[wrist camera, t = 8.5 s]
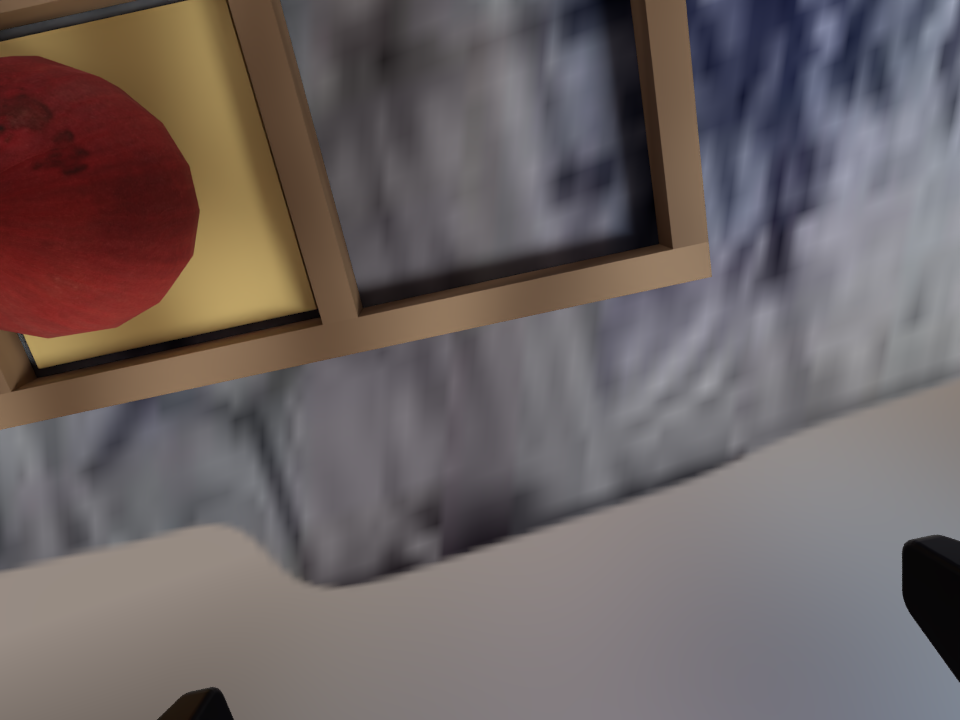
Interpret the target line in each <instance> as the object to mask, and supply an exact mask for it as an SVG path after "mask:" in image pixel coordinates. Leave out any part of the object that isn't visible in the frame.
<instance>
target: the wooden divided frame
mask: <svg viewBox="0 0 960 720" xmlns="http://www.w3.org/2000/svg"><path fill="white" fill-rule="evenodd" d="M131 1H136V0H0V30H5V29H9V28H14V27H18V26H23V25H28V24H32V23H37V22H41V21H46V20H50V19H55V18H59V17H64V16H68V15H73V14H77V13H82V12H86V11H91V10H95V9H100V8H104V7H109V6H113V5H118V4H122V3H127V2H131ZM228 2H229V3H228ZM630 2H631V10H632V19H633V27H634V36H635V44H636V52H637V61H638V69H639V78H640V86H641V95H642V103H643V111H644V120H645V128H646V137H647V145H648V154H649V162H650V170H651V179H652V187H653V196H654V204H655V213H656V221H657V229H658V238H659V244H657V245H652V246H648V247H643V248H639V249H634V250H629V251H625V252H620V253H615V254H611V255H606V256H601V257H597V258H592V259H588V260H583V261H578V262H574V263H569V264H564V265H560V266H555V267H550V268H546V269H541V270H537V271H532V272H527V273H523V274H518V275H513V276H509V277H504V278H499V279H495V280H490V281H486V282H481V283H476V284H472V285H467V286H462V287H458V288H453V289H449V290H444V291H439V292H435V293H430V294H425V295H421V296H416V297H411V298H407V299H402V300H398V301H393V302H388V303H384V304H379V305H374V306H370V307H365V308H363V306H362V302H361V298H360V295H359V291H358V287H357V284H356V280H355V276H354V273H353V269H352V265H351V261H350V258H349V254H348V250H347V247H346V243H345V239H344V236H343V232H342V228H341V225H340V221H339V217H338V213H337V210H336V206H335V202H334V199H333V195H332V191H331V188H330V184H329V180H328V176H327V173H326V169H325V165H324V162H323V158H322V154H321V151H320V147H319V143H318V139H317V136H316V132H315V128H314V125H313V121H312V117H311V114H310V110H309V106H308V103H307V99H306V95H305V91H304V88H303V84H302V80H301V77H300V73H299V69H298V66H297V62H296V58H295V54H294V51H293V47H292V43H291V40H290V36H289V32H288V29H287V25H286V21H285V18H284V14H283V10H282V6H281V3H280V0H187V1H182V2H178V3H173V4H169V5H164V6H160V7H155V8H151V9H146V10H142V11H137V12H133V13H128V14H124V15H119V16H115V17H110V18H106V19H101V20H97V21H92V22H88V23H83V24H78V25H74V26H69V27H65V28H60V29H56V30H51V31H47V32H42V33H38V34H33V35H29V36H24V37H20V38H15V39H11V40H6V41H2V42H0V57H8V56H40V57H43V58H46V59H49V60H52V61H55V62H58V63H61V64H64V65H67V66H70V67H73V68H75V69H78V70H81V71H84V72H87V73H90V74H93V75H96V76H99V77H101V78H103V79H105V80H107V81H108V82H110V83H112V84H114V85H116V86H118V87H119V88H121V89H122V90H123V91H124V92H126V93H127V94H128V95H129V96H130V97H132V98H133V99H134V100H135V101H136V102H138V103H139V104H140V105H141V106H143V107H144V108H145V109H146V110H147V111H149V112H150V113H151V114H152V115H154V116H155V117H156V118H157V119H158V120H160V121H161V122H162V123H163V124H164V126H165V128H166V129H167V131H168V132H169V134H170V136H171V137H172V139H173V140H174V142H175V144H176V145H177V147H178V148H179V150H180V152H181V153H182V155H183V156H184V158H185V160H186V161H187V163H188V164H189V166H190V171H191V175H192V179H193V183H194V188H195V192H196V196H197V200H198V205H199V209H200V214H199V221H198V227H197V234H196V241H195V247H194V254H193V257H192V258H191V259H190V261H189V262H188V264H187V265H186V267H185V268H184V270H183V271H182V272H181V274H180V275H179V277H178V278H177V280H176V281H175V282H174V284H173V285H172V287H171V288H170V290H169V291H168V292H167V294H166V295H165V296H164V297H163V299H162V300H161V301H160V303H158V304H156V305H154V306H153V307H151V308H149V309H148V310H146V311H144V312H143V313H141V314H139V315H137V316H136V317H134V318H132V319H131V320H129V321H127V322H125V323H124V324H122V325H120V326H119V327H117V328H111V329H105V330H99V331H92V332H86V333H80V334H73V335H67V336H61V337H55V338H42V337H37V336H31V335H26V334H23V335H24V337H25V339H26V342H27V344H28V346H29V348H30V351H31V353H32V355H33V357H34V360H35V362H36V364H37V366H38V368H39V369H41V368H45V367H50V366H55V365H59V364H64V363H69V362H73V361H78V360H82V359H87V358H92V357H96V356H101V355H106V354H110V353H115V352H120V351H124V350H129V349H133V348H138V347H143V346H147V345H152V344H157V343H161V342H166V341H170V340H175V339H180V338H184V337H189V336H194V335H198V334H203V333H208V332H212V331H217V330H221V329H226V328H231V327H235V326H240V325H245V324H249V323H254V322H258V321H263V320H268V319H272V318H277V317H282V316H286V315H291V314H296V313H300V312H305V311H309V310H314V309H317V308H318V309H319V313H320V316H321V317H319V318H314V319H309V320H305V321H300V322H296V323H291V324H286V325H282V326H277V327H272V328H268V329H263V330H258V331H254V332H249V333H245V334H240V335H235V336H231V337H226V338H221V339H217V340H212V341H207V342H203V343H198V344H194V345H189V346H184V347H180V348H175V349H170V350H166V351H161V352H157V353H152V354H147V355H143V356H138V357H133V358H129V359H124V360H119V361H115V362H110V363H106V364H101V365H96V366H92V367H87V368H82V369H78V370H73V371H68V372H64V373H59V374H55V375H50V376H45V377H41V378H37V377H36V374H35V372H34V370H33V368H32V366H31V363H30V361H29V359H28V357H27V354H26V352H25V350H24V348H23V346H22V343H21V341H20V339H19V337H18V334H17V333H15V332H10V331H4V330H0V430H1V429H6V428H10V427H15V426H20V425H24V424H29V423H34V422H38V421H43V420H48V419H52V418H57V417H62V416H66V415H71V414H76V413H80V412H85V411H89V410H94V409H99V408H103V407H108V406H113V405H117V404H122V403H127V402H131V401H136V400H141V399H145V398H150V397H155V396H159V395H164V394H169V393H173V392H178V391H182V390H187V389H192V388H196V387H201V386H206V385H210V384H215V383H220V382H224V381H229V380H234V379H238V378H243V377H248V376H252V375H257V374H262V373H266V372H271V371H275V370H280V369H285V368H289V367H294V366H299V365H303V364H308V363H313V362H317V361H322V360H327V359H331V358H336V357H341V356H345V355H350V354H354V353H359V352H364V351H368V350H373V349H378V348H382V347H387V346H392V345H396V344H401V343H406V342H410V341H415V340H420V339H424V338H429V337H434V336H438V335H443V334H447V333H452V332H457V331H461V330H466V329H471V328H475V327H480V326H485V325H489V324H494V323H499V322H503V321H508V320H513V319H517V318H522V317H527V316H531V315H536V314H540V313H545V312H550V311H554V310H559V309H564V308H568V307H573V306H578V305H582V304H587V303H592V302H596V301H601V300H606V299H610V298H615V297H620V296H624V295H629V294H633V293H638V292H643V291H647V290H652V289H657V288H661V287H666V286H671V285H675V284H680V283H685V282H689V281H694V280H699V279H703V278H708V277H712V274H711V264H710V253H709V243H708V232H707V222H706V211H705V201H704V190H703V179H702V169H701V158H700V148H699V137H698V127H697V116H696V106H695V95H694V84H693V74H692V63H691V53H690V42H689V32H688V21H687V11H686V0H630ZM229 6H230V7H229ZM230 9H231V10H230ZM232 16H233V17H232ZM233 19H234V20H233ZM234 23H235V24H234ZM235 26H236V27H235ZM236 30H237V31H236ZM237 33H238V34H237ZM238 36H239V37H238ZM239 40H240V41H239ZM240 43H241V44H240ZM241 47H242V48H241ZM242 50H243V51H242ZM243 53H244V54H243ZM244 57H245V58H244ZM245 60H246V61H245ZM246 64H247V65H246ZM247 67H248V68H247ZM249 74H250V75H249ZM250 77H251V78H250ZM251 81H252V82H251ZM252 84H253V85H252ZM253 88H254V89H253ZM254 91H255V92H254ZM255 94H256V95H255ZM256 98H257V99H256ZM257 101H258V102H257ZM258 105H259V106H258ZM259 108H260V109H259ZM260 111H261V112H260ZM261 115H262V116H261ZM262 118H263V119H262ZM263 122H264V123H263ZM264 125H265V126H264ZM266 132H267V133H266ZM267 135H268V136H267ZM268 139H269V140H268ZM269 142H270V143H269ZM270 146H271V147H270ZM271 149H272V150H271ZM272 152H273V153H272ZM273 156H274V157H273ZM274 159H275V160H274ZM275 163H276V164H275ZM276 166H277V167H276ZM277 169H278V170H277ZM278 173H279V174H278ZM279 176H280V177H279ZM280 180H281V181H280ZM281 183H282V184H281ZM283 190H284V191H283ZM284 193H285V194H284ZM285 197H286V198H285ZM286 200H287V201H286ZM288 207H289V208H288ZM289 210H290V211H289ZM290 214H291V215H290ZM291 217H292V218H291ZM292 221H293V222H292ZM293 224H294V225H293ZM294 227H295V228H294ZM295 231H296V232H295ZM296 234H297V235H296ZM297 238H298V239H297ZM298 241H299V242H298ZM300 248H301V249H300ZM301 251H302V252H301ZM302 255H303V256H302ZM303 258H304V259H303ZM305 265H306V266H305ZM306 268H307V269H306ZM307 272H308V273H307ZM308 275H309V276H308ZM309 279H310V280H309ZM310 282H311V283H310ZM311 285H312V286H311ZM312 289H313V290H312ZM313 292H314V293H313ZM314 296H315V297H314ZM315 299H316V300H315ZM317 306H318V307H317Z"/></svg>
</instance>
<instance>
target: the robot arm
mask: <svg viewBox="0 0 960 720" xmlns="http://www.w3.org/2000/svg"><path fill="white" fill-rule="evenodd" d="M902 593H903V599H904V602H905V605H906V607H907V609H908V611H909V612H910V614H911V615H912V617H913V618H914V620H915V621H916V623H917V624H918V625H919V627H920V628H921V629H922V631H923V632H924V634H925V635H926V636H927V638H928V639H929V641H930V642H931V643H932V645H933V646H934V647H935V649H936V650H937V652H938V653H939V654H940V656H941V657H942V659H943V660H944V661H945V663H946V664H947V666H948V667H949V668H950V670H951V671H952V673H953V674H954V675H955V677H956V678H957V679H958V681H959V682H960V541H958V540H955V539H952V538H949V537H945V536H942V535H931V536H926V537H921V538H917V539H912V540H909V541H908V542H906V543H905V544H904V546H903V550H902ZM157 720H234V719H233V716H232V714H231V712H230V709H229V707H228V705H227V702H226V700H225V698H224V695H223V694H222V692H221V691H220V690H219V689H218V688H215V687H210V688H205V689H201V690H196V691H191V692H188V693H186V694H184V695H182V696H181V697H180V698H179V699H178V700H177V701H176V702H175V703H174V704H173V705H172V706H171V707H170V708H169V709H168V710H167V711H166V712H165V713H164V714H163V715H162V716H160V717H159V718H158V719H157Z"/></svg>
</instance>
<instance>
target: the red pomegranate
mask: <svg viewBox="0 0 960 720" xmlns="http://www.w3.org/2000/svg"><path fill="white" fill-rule="evenodd" d="M199 214H200V209H199V205H198V200H197V196H196V192H195V188H194V183H193V179H192V175H191V171H190V166H189V164H188V163H187V161H186V160H185V158H184V156H183V155H182V153H181V152H180V150H179V148H178V147H177V145H176V144H175V142H174V140H173V139H172V137H171V136H170V134H169V132H168V131H167V129H166V128H165V126H164V124H163V123H162V122H161V121H160V120H158V119H157V118H156V117H155V116H154V115H152V114H151V113H150V112H149V111H147V110H146V109H145V108H144V107H143V106H141V105H140V104H139V103H138V102H136V101H135V100H134V99H133V98H132V97H130V96H129V95H128V94H127V93H126V92H124V91H123V90H122V89H121V88H119V87H118V86H116V85H114V84H112V83H110V82H108V81H107V80H105V79H103V78H101V77H99V76H96V75H93V74H90V73H87V72H84V71H81V70H78V69H75V68H73V67H70V66H67V65H64V64H61V63H58V62H55V61H52V60H49V59H46V58H43V57H40V56H8V57H0V330H4V331H10V332H15V333H20V334H26V335H31V336H37V337H42V338H55V337H61V336H67V335H73V334H80V333H86V332H92V331H99V330H105V329H111V328H117V327H119V326H120V325H122V324H124V323H125V322H127V321H129V320H131V319H132V318H134V317H136V316H137V315H139V314H141V313H143V312H144V311H146V310H148V309H149V308H151V307H153V306H154V305H156V304H158V303H160V301H161V300H162V299H163V297H164V296H165V295H166V294H167V292H168V291H169V290H170V288H171V287H172V285H173V284H174V282H175V281H176V280H177V278H178V277H179V275H180V274H181V272H182V271H183V270H184V268H185V267H186V265H187V264H188V262H189V261H190V259H191V258H192V257H193V254H194V247H195V241H196V234H197V227H198V221H199Z"/></svg>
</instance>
